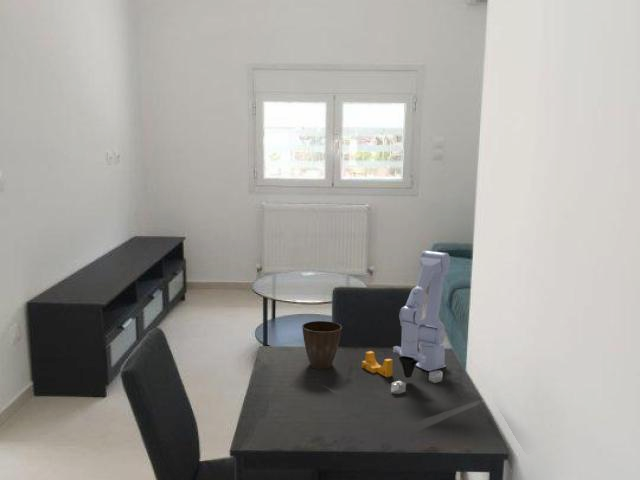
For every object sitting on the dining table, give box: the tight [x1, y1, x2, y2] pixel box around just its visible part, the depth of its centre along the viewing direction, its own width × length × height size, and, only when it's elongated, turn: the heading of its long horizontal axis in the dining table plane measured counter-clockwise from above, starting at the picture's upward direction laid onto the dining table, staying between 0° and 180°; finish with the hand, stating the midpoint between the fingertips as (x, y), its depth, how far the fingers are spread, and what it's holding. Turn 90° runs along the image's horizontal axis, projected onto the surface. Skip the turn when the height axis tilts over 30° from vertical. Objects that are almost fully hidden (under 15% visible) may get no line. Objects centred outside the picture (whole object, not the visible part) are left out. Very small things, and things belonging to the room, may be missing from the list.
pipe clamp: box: [361, 350, 394, 378], centre depth 221 cm, size 12×4×6 cm, turn 37°
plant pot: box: [301, 320, 343, 370], centre depth 225 cm, size 15×15×16 cm
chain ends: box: [390, 369, 443, 395], centre depth 209 cm, size 24×3×3 cm, turn 126°
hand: (408, 376), depth 212 cm, fingers closed
